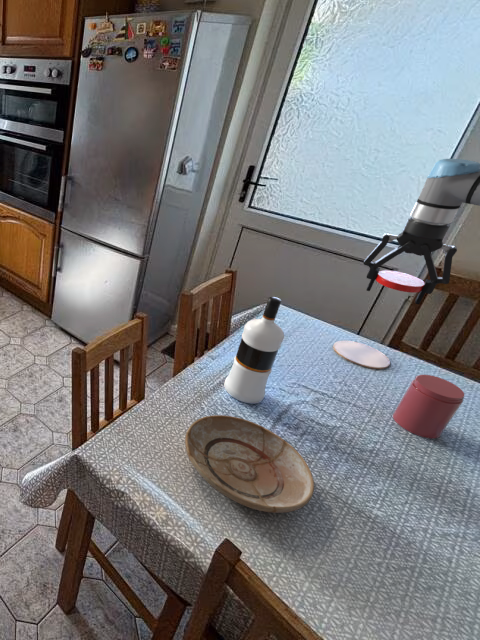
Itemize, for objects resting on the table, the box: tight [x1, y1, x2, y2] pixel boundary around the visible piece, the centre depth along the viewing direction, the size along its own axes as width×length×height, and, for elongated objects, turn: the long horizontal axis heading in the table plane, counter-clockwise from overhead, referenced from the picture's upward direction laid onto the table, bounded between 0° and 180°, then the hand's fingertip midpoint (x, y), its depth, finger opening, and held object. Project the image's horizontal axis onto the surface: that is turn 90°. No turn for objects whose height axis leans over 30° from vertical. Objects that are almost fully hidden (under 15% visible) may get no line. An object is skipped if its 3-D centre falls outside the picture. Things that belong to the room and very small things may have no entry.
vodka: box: [223, 296, 285, 405], centre depth 106 cm, size 9×9×30 cm
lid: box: [375, 269, 425, 294], centre depth 113 cm, size 9×9×2 cm
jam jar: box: [392, 374, 465, 440], centre depth 99 cm, size 8×8×12 cm
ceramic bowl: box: [184, 414, 315, 514], centre depth 90 cm, size 23×24×5 cm
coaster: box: [332, 339, 391, 370], centre depth 125 cm, size 13×13×1 cm
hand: (392, 295), depth 115 cm, fingers closed on lid, 9 cm apart
